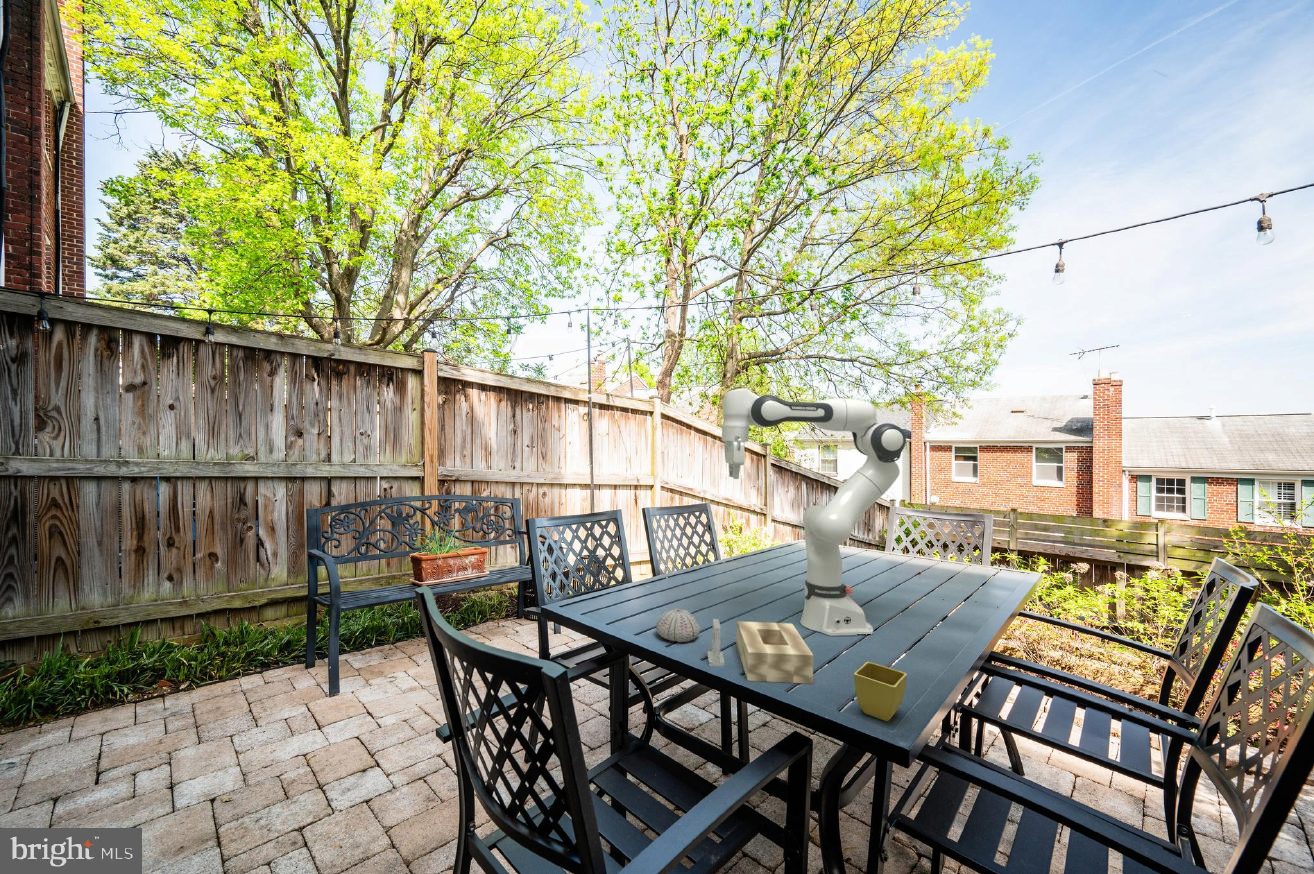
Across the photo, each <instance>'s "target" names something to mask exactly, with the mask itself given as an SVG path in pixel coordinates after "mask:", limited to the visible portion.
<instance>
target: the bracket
mask: <svg viewBox="0 0 1314 874" xmlns="http://www.w3.org/2000/svg"><path fill="white" fill-rule="evenodd" d="M721 631H722V628H721V623H720V620H719V618H712V632H711V633H712V634H711V636H712V640H711V651H710V650H708V651H707V653H706V654H707V661H708V667H725V659H724V655H723V652H722V651H721V639H722V638H721V636H722V635H721V633H722V632H721Z"/></svg>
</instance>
